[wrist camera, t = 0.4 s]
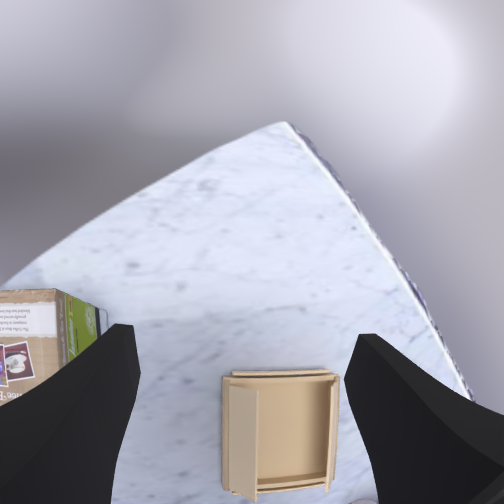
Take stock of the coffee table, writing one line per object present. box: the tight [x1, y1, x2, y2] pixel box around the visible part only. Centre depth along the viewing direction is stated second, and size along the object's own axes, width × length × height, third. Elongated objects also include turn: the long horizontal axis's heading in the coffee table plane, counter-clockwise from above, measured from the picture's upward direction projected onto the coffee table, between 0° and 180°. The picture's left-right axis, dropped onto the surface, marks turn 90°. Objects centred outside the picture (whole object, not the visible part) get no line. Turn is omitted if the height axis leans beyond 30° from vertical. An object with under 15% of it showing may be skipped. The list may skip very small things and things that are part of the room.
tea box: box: [0, 288, 108, 406], centre depth 24 cm, size 15×10×15 cm
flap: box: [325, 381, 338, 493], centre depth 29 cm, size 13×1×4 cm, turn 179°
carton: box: [222, 369, 340, 495], centre depth 32 cm, size 15×13×3 cm
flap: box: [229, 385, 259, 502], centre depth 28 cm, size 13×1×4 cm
